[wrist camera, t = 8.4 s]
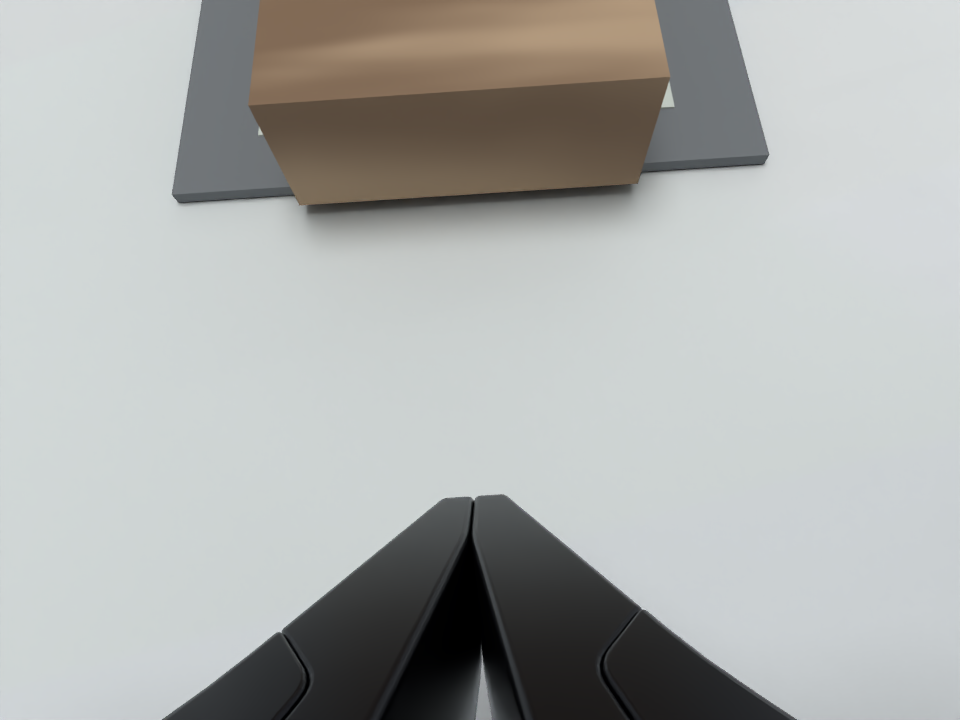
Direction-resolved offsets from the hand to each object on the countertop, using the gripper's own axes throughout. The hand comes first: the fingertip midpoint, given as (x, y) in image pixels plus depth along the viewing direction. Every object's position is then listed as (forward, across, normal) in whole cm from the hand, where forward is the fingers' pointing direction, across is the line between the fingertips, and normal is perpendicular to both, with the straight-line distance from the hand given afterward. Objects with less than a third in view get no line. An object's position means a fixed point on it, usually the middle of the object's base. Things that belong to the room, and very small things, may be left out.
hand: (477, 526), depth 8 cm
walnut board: (+11, 0, +4) cm, 11 cm away
